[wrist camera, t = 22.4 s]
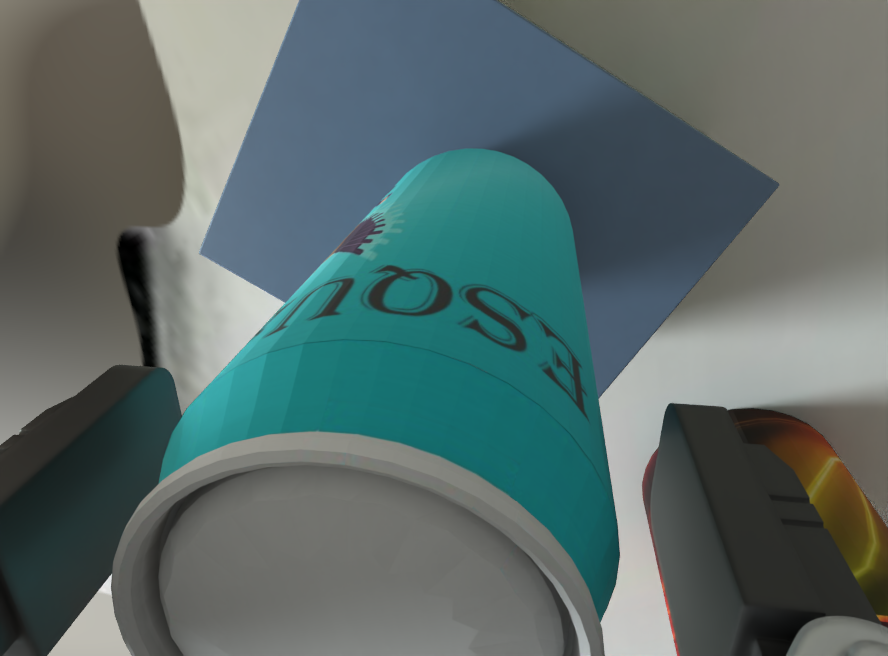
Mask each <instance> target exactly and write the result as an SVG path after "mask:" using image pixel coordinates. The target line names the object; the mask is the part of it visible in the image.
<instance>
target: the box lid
mask: <svg viewBox="0 0 888 656" xmlns="http://www.w3.org/2000/svg"><path fill="white" fill-rule="evenodd" d="M459 149H487V150H493V151H498V152H501V153H504V154H507V155H510V156H513V157H515V158H517V159H519V160H521V161H523V162H525V163H526V164H528V165H530V166H531V167H532V168H534V169H535V170H536V171H538V172H539V173H540V174H541V175H542V176H543V177H544V178H545V179H546V180H547V181H548V182H549V183H550V184H551V185H552V186H553V188H554V189H555V191H556V192H557V194H558V195H559V196H560V198H561V199H562V201H563V203H564V206H565V208H566V210H567V212H568V215H569V218H570V222H571V226H572V229H573V235H574V242H575V248H576V255H577V262H578V268H579V275H580V281H581V288H582V294H583V301H584V308H585V314H586V321H587V327H588V334H589V341H590V347H591V354H592V360H593V367H594V373H595V380H596V387H597V393H598V399H599V398H600V396H601V395H602V394H603V393H604V392H605V390H606V389H607V388H608V387H609V386H610V385H611V383H612V382H613V381H614V380H615V379H616V378H617V376H618V375H619V374H620V373H621V372H622V370H623V369H624V368H625V367H626V366H627V365H628V363H629V362H630V361H631V360H632V359H633V357H634V356H635V355H636V354H637V353H638V352H639V350H640V349H641V348H642V347H643V346H644V344H645V343H646V342H647V341H648V340H649V339H650V337H651V336H652V335H653V334H654V333H655V332H656V330H657V329H658V328H659V327H660V326H661V324H662V323H663V322H664V321H665V320H666V319H667V317H668V316H669V315H670V314H671V313H672V311H673V310H674V309H675V308H676V307H677V306H678V304H679V303H680V302H681V301H682V300H683V298H684V297H685V296H686V295H687V294H688V293H689V291H690V290H691V289H692V288H693V287H694V286H695V284H696V283H697V282H698V281H699V280H700V278H701V277H702V276H703V275H704V274H705V273H706V271H707V270H708V269H709V268H710V267H711V265H712V264H713V263H714V262H715V261H716V260H717V258H718V257H719V256H720V255H721V254H722V253H723V251H724V250H725V249H726V248H727V247H728V245H729V244H730V243H731V242H732V241H733V240H734V238H735V237H736V236H737V235H738V234H739V232H740V231H741V230H742V229H743V228H744V227H745V225H746V224H747V223H748V222H749V221H750V219H751V218H752V217H753V216H754V215H755V214H756V212H757V211H758V210H759V209H760V208H761V207H762V205H763V204H764V203H765V202H766V201H767V199H768V198H769V197H770V196H771V195H772V194H773V192H774V191H775V190H776V189H777V188H778V186H779V183H777V182H776V181H774V180H773V179H771V178H770V177H768V176H767V175H765V174H764V173H762V172H761V171H759V170H758V169H756V168H755V167H753V166H751V165H750V164H748V163H747V162H745V161H744V160H742V159H741V158H739V157H738V156H736V155H735V154H733V153H731V152H730V151H728V150H727V149H725V148H724V147H722V146H721V145H719V144H718V143H716V142H715V141H713V140H711V139H710V138H708V137H707V136H705V135H704V134H702V133H701V132H699V131H698V130H696V129H695V128H693V127H691V126H690V125H688V124H687V123H685V122H684V121H682V120H681V119H679V118H678V117H676V116H675V115H673V114H672V113H670V112H668V111H667V110H665V109H664V108H662V107H661V106H659V105H658V104H656V103H655V102H653V101H652V100H650V99H648V98H647V97H645V96H644V95H642V94H641V93H639V92H638V91H636V90H635V89H633V88H632V87H630V86H628V85H627V84H625V83H624V82H622V81H621V80H619V79H618V78H616V77H615V76H613V75H612V74H610V73H609V72H607V71H605V70H604V69H602V68H601V67H599V66H598V65H596V64H595V63H593V62H592V61H590V60H589V59H587V58H585V57H584V56H582V55H581V54H579V53H578V52H576V51H575V50H573V49H572V48H570V47H569V46H567V45H565V44H564V43H562V42H561V41H559V40H558V39H556V38H555V37H553V36H552V35H550V34H549V33H547V32H546V31H544V30H542V29H541V28H539V27H538V26H536V25H535V24H533V23H532V22H530V21H529V20H527V19H526V18H524V17H522V16H521V15H519V14H518V13H516V12H515V11H513V10H512V9H510V8H509V7H507V6H506V5H504V4H502V3H501V2H499V1H498V0H299V2H298V5H297V7H296V10H295V12H294V15H293V17H292V20H291V22H290V25H289V27H288V30H287V32H286V35H285V37H284V40H283V42H282V45H281V47H280V50H279V52H278V55H277V57H276V60H275V62H274V65H273V67H272V70H271V72H270V75H269V77H268V80H267V82H266V85H265V87H264V90H263V92H262V95H261V98H260V100H259V103H258V105H257V108H256V110H255V113H254V115H253V118H252V120H251V123H250V125H249V128H248V130H247V133H246V135H245V138H244V140H243V143H242V145H241V148H240V150H239V153H238V155H237V158H236V160H235V163H234V165H233V168H232V170H231V173H230V175H229V178H228V180H227V183H226V185H225V188H224V190H223V193H222V195H221V198H220V200H219V203H218V205H217V208H216V210H215V213H214V216H213V218H212V221H211V223H210V226H209V228H208V231H207V233H206V236H205V238H204V241H203V243H202V246H201V248H200V251H199V254H201V255H202V256H204V257H206V258H208V259H209V260H211V261H213V262H215V263H216V264H218V265H220V266H222V267H223V268H225V269H227V270H229V271H230V272H232V273H234V274H236V275H238V276H239V277H241V278H243V279H245V280H246V281H248V282H250V283H252V284H253V285H255V286H257V287H259V288H260V289H262V290H264V291H266V292H267V293H269V294H271V295H273V296H274V297H276V298H278V299H280V300H281V301H283V302H285V303H286V302H287V301H288V300H289V298H290V297H291V296H292V295H293V294H294V293H295V292H296V291H297V290H298V289H299V288H300V287H301V286H302V285H303V283H304V282H305V281H306V280H307V279H308V278H309V277H310V276H311V275H312V274H313V273H314V272H315V271H316V270H317V268H318V267H319V266H320V265H321V264H322V263H323V262H324V261H325V260H326V259H327V258H328V257H329V256H330V255H331V253H332V252H333V251H334V250H335V249H336V248H337V247H338V246H339V245H340V244H341V243H342V242H343V241H344V240H345V238H346V237H347V236H348V235H349V234H350V233H351V232H352V231H353V230H354V229H355V228H356V227H357V226H358V225H359V223H360V222H361V221H362V220H363V219H364V218H365V217H366V216H367V215H368V214H369V213H370V212H371V211H372V210H373V208H374V207H375V206H376V205H377V204H378V203H379V202H380V201H381V200H382V199H383V198H384V197H385V196H386V195H387V193H388V192H389V191H390V190H391V189H392V188H393V187H394V186H395V185H396V184H397V183H398V182H399V181H400V180H401V179H402V177H403V176H404V175H405V174H406V173H407V172H409V171H410V170H411V169H413V168H414V167H415V166H417V165H418V164H420V163H421V162H423V161H425V160H427V159H429V158H431V157H433V156H436V155H439V154H442V153H445V152H448V151H453V150H459Z"/></svg>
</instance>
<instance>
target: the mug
mask: <svg viewBox="0 0 888 656" xmlns="http://www.w3.org/2000/svg"><path fill="white" fill-rule="evenodd" d="M728 413H729V415H730V417H731V419H732V421H733V423H734V425H735V427H736V429H737V431H738V433H739V435H740V437H741V439H742V441H743V443H745V444H759V445H765V446H766V447H767V448H769V449H770V450H771V451H772V452H773V453H774V454H776V455H777V456H778V457H779V458H780V459H782V460H783V461H784V462H785V463H786V464H787V465H789V466H790V467H791V468H792V469H793V470H794V471H795V473H796V475H797V476H798V478H799V480H800V482H801V483H802V485H803V487H804V489H805V490H806V492H807V494H808V496H809V497H810V504H814V506H815V508H816V510H817V511H818V513H819V515H820V517H821V519H822V520H823V522H824V523H823V526H824V528H825V529H828V531H829V533H830V534H831V536H832V538H833V540H834V541H835V543H836V545H837V547H838V548H839V550H840V552H841V554H842V555H843V557H844V559H845V561H846V562H847V564H848V566H849V568H850V569H851V571H852V573H853V575H854V576H855V578H856V580H857V582H858V583H859V585H860V587H861V589H862V590H863V592H864V594H865V596H866V597H867V599H868V601H869V603H870V604H871V606H872V608H873V610H874V611H875V613H876V615H877V617H878V618H879V620H880V622H881V624H882V625H883V626H885V627H887V628H888V528H887V526H886V525H885V523H884V522H883V520H882V519H881V517H880V516H879V515H878V513H877V512H876V510H875V509H874V507H873V506H872V505H871V503H870V502H869V500H868V499H867V497H866V496H865V494H864V493H863V492H862V490H861V489H860V487H859V486H858V484H857V483H856V482H855V480H854V479H853V477H852V476H851V474H850V473H849V471H848V470H847V469H846V467H845V466H844V464H843V463H842V461H841V460H840V458H839V457H838V456H837V454H836V453H835V451H834V450H833V448H832V447H831V446H830V445H829V443H828V442H827V441H826V440H825V438H824V437H823V436H822V435H821V434H820V433H819V432H817V431H816V430H815V429H814V428H812V427H811V426H810V425H809V424H807V423H805V422H803V421H801V420H799V419H797V418H795V417H793V416H790V415H786V414H783V413H779V412H776V411H771V410H761V409H734V410H728ZM658 449H659V447H658ZM658 449H657V450H656V451H655V452H654V454H653V455H652V457H651V459H650V461H649V463H648V465H647V467H646V469H645V474H644V478H643V482H642V489H643V501H644V505H645V510H646V514H647V519H648V524H649V528H650V533H651V537H652V542H653V547H654V551H655V556H656V560H657V565H658V569H659V574H660V579H661V583H662V588H663V592H664V597H665V602H666V606H667V611H668V615H669V620H670V624H671V629H672V634H673V638H674V643H675V647H676V652H677V656H680V655H679V651H678V646H677V642H676V637H675V633H674V628H673V624H672V619H671V614H670V610H669V605H668V601H667V596H666V592H665V587H664V583H663V578H662V574H661V569H660V565H659V560H658V555H657V551H656V546H655V542H654V537H653V533H652V526H651V513H650V503H651V490H652V483H653V477H654V472H655V466H656V460H657V454H658Z"/></svg>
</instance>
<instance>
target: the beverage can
mask: <svg viewBox="0 0 888 656" xmlns="http://www.w3.org/2000/svg"><path fill="white" fill-rule="evenodd" d="M619 558H620V551H619V538H618V525H617V518H616V512H615V505H614V499H613V492H612V485H611V479H610V472H609V466H608V459H607V452H606V446H605V439H604V433H603V426H602V420H601V413H600V406H599V400H598V393H597V387H596V380H595V373H594V367H593V360H592V354H591V347H590V341H589V334H588V327H587V321H586V314H585V308H584V301H583V294H582V288H581V281H580V275H579V268H578V262H577V255H576V248H575V242H574V235H573V229H572V226H571V222H570V218H569V215H568V212H567V210H566V208H565V206H564V203H563V201H562V199H561V198H560V196H559V195H558V194H557V192H556V191H555V189H554V188H553V186H552V185H551V184H550V183H549V182H548V181H547V180H546V179H545V178H544V177H543V176H542V175H541V174H540V173H539V172H538V171H536V170H535V169H534V168H532V167H531V166H530V165H528V164H526V163H525V162H523V161H521V160H519V159H517V158H515V157H513V156H510V155H507V154H504V153H501V152H498V151H493V150H487V149H459V150H453V151H448V152H445V153H442V154H439V155H436V156H433V157H431V158H429V159H427V160H425V161H423V162H421V163H420V164H418V165H417V166H415V167H414V168H413V169H411V170H410V171H409V172H407V173H406V174H405V175H404V176H403V177H402V179H401V180H400V181H399V182H398V183H397V184H396V185H395V186H394V187H393V188H392V189H391V190H390V191H389V192H388V193H387V195H386V196H385V197H384V198H383V199H382V200H381V201H380V202H379V203H378V204H377V205H376V206H375V207H374V208H373V210H372V211H371V212H370V213H369V214H368V215H367V216H366V217H365V218H364V219H363V220H362V221H361V222H360V223H359V225H358V226H357V227H356V228H355V229H354V230H353V231H352V232H351V233H350V234H349V235H348V236H347V237H346V238H345V240H344V241H343V242H342V243H341V244H340V245H339V246H338V247H337V248H336V249H335V250H334V251H333V252H332V253H331V255H330V256H329V257H328V258H327V259H326V260H325V261H324V262H323V263H322V264H321V265H320V266H319V267H318V268H317V270H316V271H315V272H314V273H313V274H312V275H311V276H310V277H309V278H308V279H307V280H306V281H305V282H304V283H303V285H302V286H301V287H300V288H299V289H298V290H297V291H296V292H295V293H294V294H293V295H292V296H291V297H290V298H289V300H288V301H287V302H286V303H285V304H284V305H283V306H282V307H281V308H280V309H279V310H278V311H277V312H276V313H275V315H274V316H273V317H272V318H271V319H270V320H269V321H268V322H267V323H266V324H265V325H264V326H263V327H262V328H261V330H260V331H259V332H258V333H257V334H256V335H255V336H254V337H253V338H252V339H251V340H250V341H249V342H248V343H247V345H246V346H245V347H244V348H243V349H242V350H241V351H240V352H239V353H238V354H237V355H236V356H235V357H234V358H233V360H232V361H231V362H230V363H229V364H228V365H227V366H226V367H225V368H224V369H223V370H222V371H221V372H220V373H219V375H218V376H217V377H216V378H215V379H214V380H213V381H212V382H211V383H210V384H209V385H208V386H207V387H206V388H205V390H204V391H203V392H202V393H201V394H200V395H199V396H198V397H197V398H196V399H195V400H194V401H193V402H192V403H191V405H190V406H189V407H188V408H187V409H186V411H185V412H184V414H183V416H182V417H181V419H180V421H179V422H178V424H177V425H176V427H175V429H174V430H173V432H172V434H171V437H170V440H169V443H168V446H167V449H166V451H165V454H164V457H163V462H162V468H161V473H160V478H159V484H158V485H157V486H156V487H155V488H154V489H153V490H152V491H151V492H150V493H149V494H148V495H147V496H146V497H145V498H144V499H143V500H142V501H141V503H140V504H139V506H138V507H137V509H136V511H135V512H134V514H133V515H132V517H131V519H130V520H129V522H128V523H127V525H126V527H125V529H124V532H123V534H122V536H121V539H120V542H119V545H118V548H117V551H116V554H115V558H114V561H113V570H112V582H111V591H112V599H113V606H114V613H115V617H116V620H117V623H118V626H119V629H120V632H121V635H122V637H123V640H124V642H125V644H126V646H127V648H128V649H129V651H130V653H131V655H132V656H605V654H604V644H603V634H602V627H601V624H600V622H601V620H602V617H603V615H604V613H605V611H606V609H607V606H608V604H609V601H610V598H611V596H612V593H613V590H614V587H615V585H616V580H617V572H618V565H619Z"/></svg>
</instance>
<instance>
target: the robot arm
mask: <svg viewBox="0 0 888 656" xmlns="http://www.w3.org/2000/svg"><path fill="white" fill-rule="evenodd" d="M181 417H182V415H181V410H180V406H179V401H178V396H177V392H176V387H175V383H174V379H173V377H172V375H171V374H170V372H169V371H168V370H166V369H165V368H158V367H144V366H128V365H116V366H113V367H111V368H110V369H109V370H107V371H106V372H105V373H104V374H102V375H101V376H100V377H98V378H97V379H96V380H95V381H93V382H92V383H91V384H89V385H88V386H87V387H86V388H85V389H83V390H82V391H81V392H80V393H78V394H77V395H76V396H74V397H72V398H69V399H67V400H65V401H63V402H61V403H59V404H57V405H55V406H53V407H51V408H49V409H47V410H45V411H44V412H43V413H42V414H40V415H39V416H37V417H36V418H35V419H34V420H32V421H31V422H30V423H28V424H27V425H26V426H25V427H23V428H22V429H21V430H20V434H19V435H13V436H12V437H10V438H9V439H8V440H6V441H5V442H4V443H3V444H1V445H0V656H47V655H48V654H49V652H50V651H51V650H52V649H53V647H54V646H55V645H56V644H57V642H58V641H59V640H60V639H61V637H62V636H63V635H64V633H65V632H66V631H67V630H68V628H69V627H70V626H71V624H72V623H73V622H74V621H75V619H76V618H77V617H78V615H79V614H80V613H81V612H82V610H83V609H84V608H85V607H86V605H87V604H88V603H89V602H90V600H91V599H92V598H93V597H94V595H95V594H96V593H97V591H98V590H99V589H100V588H101V586H102V585H103V584H104V583H105V581H106V580H107V579H108V577H109V576H110V575H111V574H112V570H113V561H114V558H115V554H116V551H117V548H118V545H119V542H120V539H121V536H122V534H123V532H124V529H125V527H126V525H127V523H128V522H129V520H130V519H131V517H132V515H133V514H134V512H135V511H136V509H137V507H138V506H139V504H140V503H141V501H142V500H143V499H144V498H145V497H146V496H147V495H148V494H149V493H150V492H151V491H152V490H153V489H154V488H155V487H156V486H157V485H158V484H159V478H160V473H161V468H162V462H163V457H164V454H165V451H166V449H167V446H168V443H169V440H170V437H171V434H172V432H173V430H174V429H175V427H176V425H177V424H178V422H179V421H180V419H181ZM650 513H651V526H652V533H653V537H654V542H655V546H656V551H657V555H658V560H659V565H660V569H661V574H662V578H663V583H664V587H665V592H666V596H667V601H668V605H669V610H670V614H671V619H672V624H673V628H674V633H675V637H676V642H677V646H678V651H679V655H680V656H888V628H887V627H885V626H883V625H882V624H881V622H880V620H879V618H878V617H877V615H876V613H875V611H874V610H873V608H872V606H871V604H870V603H869V601H868V599H867V597H866V596H865V594H864V592H863V590H862V589H861V587H860V585H859V583H858V582H857V580H856V578H855V576H854V575H853V573H852V571H851V569H850V568H849V566H848V564H847V562H846V561H845V559H844V557H843V555H842V554H841V552H840V550H839V548H838V547H837V545H836V543H835V541H834V540H833V538H832V536H831V534H830V533H829V531H828V529H825V528H824V526H823V523H824V522H823V520H822V519H821V517H820V515H819V513H818V511H817V510H816V508H815V506H814V504H810V497H809V496H808V494H807V492H806V490H805V489H804V487H803V485H802V483H801V482H800V480H799V478H798V476H797V475H796V473H795V471H794V470H793V469H792V468H791V467H790V466H789V465H787V464H786V463H785V462H784V461H783V460H782V459H780V458H779V457H778V456H777V455H776V454H774V453H773V452H772V451H771V450H770V449H769V448H767V447H766V446H765V445H759V444H745V443H743V441H742V439H741V437H740V435H739V433H738V431H737V429H736V427H735V425H734V423H733V421H732V419H731V417H730V415H729V413H728V411H727V409H726V408H724V407H718V406H704V405H689V404H674V403H670V404H669V405H668V406H667V408H666V411H665V415H664V420H663V425H662V431H661V437H660V443H659V449H658V454H657V460H656V466H655V472H654V477H653V483H652V490H651V503H650Z"/></svg>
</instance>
